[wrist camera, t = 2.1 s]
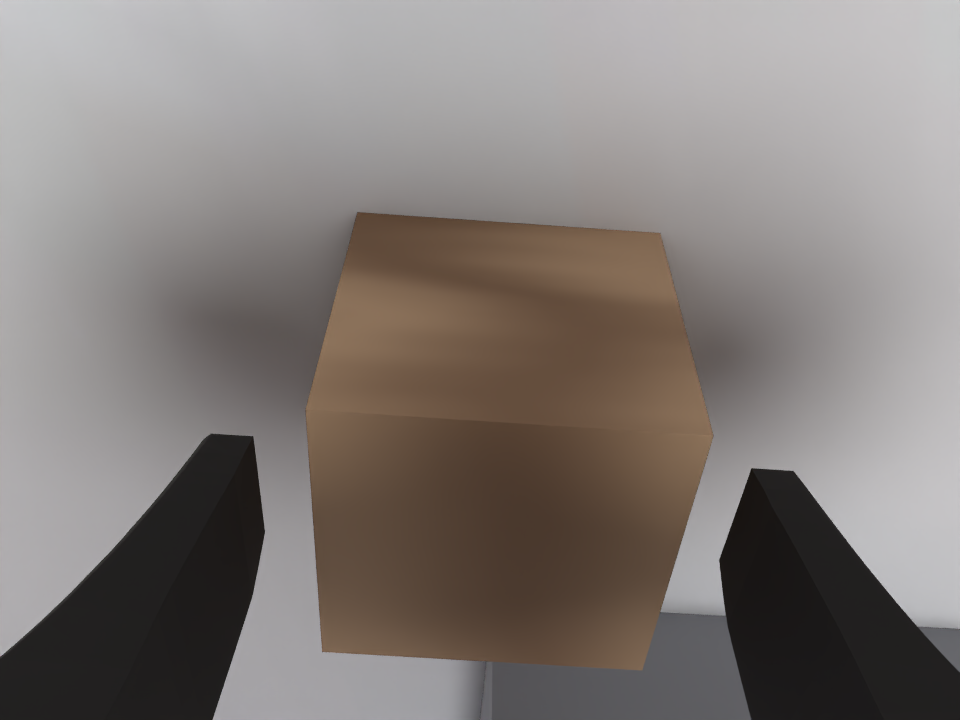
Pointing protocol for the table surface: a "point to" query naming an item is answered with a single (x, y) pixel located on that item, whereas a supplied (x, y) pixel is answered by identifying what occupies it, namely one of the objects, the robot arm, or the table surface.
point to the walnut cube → (501, 443)
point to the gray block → (645, 679)
